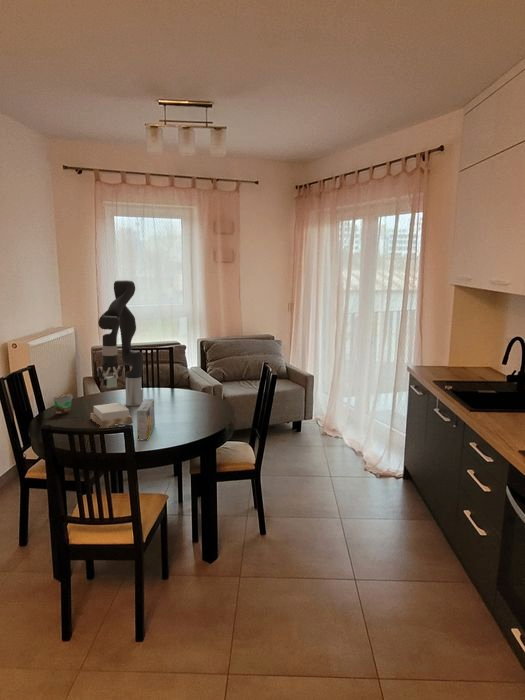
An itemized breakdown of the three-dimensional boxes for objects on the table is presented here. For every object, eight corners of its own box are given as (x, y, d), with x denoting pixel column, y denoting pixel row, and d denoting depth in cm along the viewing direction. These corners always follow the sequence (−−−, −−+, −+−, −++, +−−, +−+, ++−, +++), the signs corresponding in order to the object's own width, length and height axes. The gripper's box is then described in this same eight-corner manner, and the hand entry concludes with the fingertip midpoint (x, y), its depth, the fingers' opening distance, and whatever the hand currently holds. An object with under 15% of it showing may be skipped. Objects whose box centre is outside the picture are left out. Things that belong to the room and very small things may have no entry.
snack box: (144, 426, 235) (144, 398, 233) (155, 426, 236) (155, 398, 234) (136, 440, 215) (136, 410, 212) (148, 440, 215) (148, 410, 213)
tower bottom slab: (119, 415, 254) (119, 408, 254) (132, 423, 241) (132, 416, 240) (90, 420, 244) (90, 413, 244) (102, 429, 231) (102, 421, 230)
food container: (64, 416, 247) (63, 398, 246) (54, 415, 249) (53, 397, 247) (77, 410, 259) (77, 393, 258) (68, 409, 261) (67, 392, 259)
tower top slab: (119, 409, 252) (119, 402, 252) (129, 417, 239) (129, 409, 239) (93, 412, 244) (93, 405, 243) (102, 420, 231) (102, 413, 231)
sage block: (113, 385, 243) (113, 376, 242) (117, 386, 239) (116, 377, 238) (104, 386, 240) (104, 377, 239) (107, 388, 236) (107, 378, 235)
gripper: (120, 351, 244) (120, 382, 247) (93, 353, 235) (94, 385, 238) (125, 353, 238) (126, 385, 241) (98, 356, 229) (99, 388, 232)
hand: (110, 385), depth 239 cm, fingers closed on sage block, 5 cm apart
